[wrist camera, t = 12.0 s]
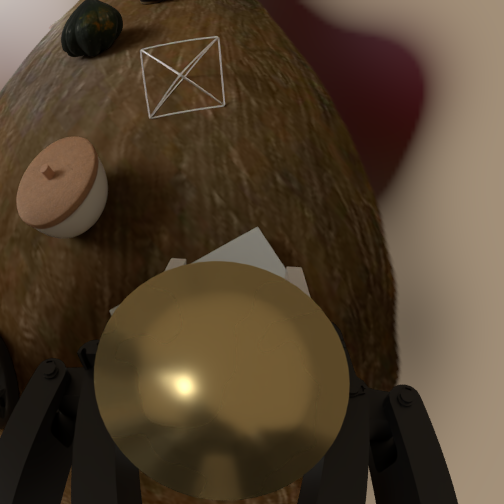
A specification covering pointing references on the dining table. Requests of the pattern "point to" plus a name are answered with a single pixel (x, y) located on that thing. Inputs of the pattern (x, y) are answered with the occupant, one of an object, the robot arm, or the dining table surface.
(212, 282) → the gold cylinder
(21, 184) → the lidded jar
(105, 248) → the dining table surface
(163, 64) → the geometric polyhedron
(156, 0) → the ceramic jug
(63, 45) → the squash
